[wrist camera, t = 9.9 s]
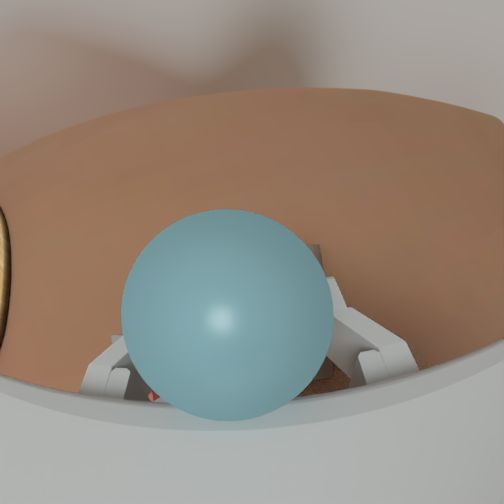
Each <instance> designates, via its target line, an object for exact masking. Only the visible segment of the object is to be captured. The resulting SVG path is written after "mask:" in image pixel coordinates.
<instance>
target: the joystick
mask: <svg viewBox="0 0 504 504" xmlns="http://www.w3.org/2000/svg"><path fill="white" fill-rule="evenodd" d="M333 321H334V315H333V302H332V296H331V291H330V287H329V284H328V281H327V278H326V276H325V274H324V271H323V269H322V267H321V265H320V263H319V262H318V260H317V259H316V257H315V256H314V254H313V253H312V251H311V250H310V249H309V248H308V247H307V246H306V244H305V243H304V242H303V241H302V240H301V239H300V238H299V237H297V236H296V235H295V234H294V233H293V232H292V231H290V230H289V229H287V228H286V227H284V226H283V225H281V224H280V223H278V222H276V221H274V220H272V219H270V218H268V217H265V216H262V215H259V214H256V213H252V212H247V211H243V210H232V209H222V210H211V211H205V212H200V213H197V214H194V215H191V216H188V217H186V218H183V219H181V220H179V221H177V222H175V223H174V224H172V225H170V226H169V227H167V228H165V229H164V230H163V231H162V232H160V233H159V234H158V235H157V236H156V237H154V238H153V239H152V241H151V242H150V243H149V244H148V245H147V246H146V247H145V248H144V250H143V251H142V252H141V254H140V255H139V256H138V258H137V260H136V261H135V263H134V265H133V267H132V269H131V271H130V273H129V276H128V278H127V281H126V284H125V288H124V292H123V298H122V305H121V323H122V331H123V336H124V341H125V344H126V348H127V350H128V353H129V355H130V358H131V360H132V362H133V364H134V366H135V368H136V369H137V371H138V373H139V374H140V375H141V377H142V378H143V379H144V381H145V382H146V383H147V384H148V385H149V387H150V388H151V389H152V390H153V391H154V392H155V393H156V394H158V395H159V396H160V397H161V398H162V399H164V400H165V401H166V402H168V403H169V404H171V405H173V406H174V407H176V408H178V409H180V410H182V411H184V412H186V413H188V414H191V415H194V416H197V417H201V418H204V419H210V420H216V421H240V420H248V419H252V418H256V417H260V416H263V415H265V414H268V413H270V412H273V411H275V410H277V409H278V408H280V407H282V406H284V405H286V404H287V403H288V402H290V401H291V400H292V399H294V398H295V397H296V396H298V395H299V394H300V393H301V392H302V391H303V390H304V389H305V388H306V387H307V386H308V384H309V383H310V382H311V381H312V379H313V378H314V377H315V375H316V374H317V372H318V370H319V369H320V367H321V365H322V363H323V361H324V359H325V356H326V354H327V351H328V349H329V345H330V341H331V337H332V331H333Z"/></svg>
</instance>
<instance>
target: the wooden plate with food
mask: <svg viewBox="0 0 504 504" xmlns="http://www.w3.org/2000/svg"><path fill="white" fill-rule="evenodd" d="M10 274H11V258H10V242H9V234H8V229H7V225H6V221H5V218H4V215H3V213H2V211H1V209H0V344H1V341H2V337H3V333H4V329H5V323H6V317H7V310H8V303H9V292H10Z"/></svg>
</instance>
